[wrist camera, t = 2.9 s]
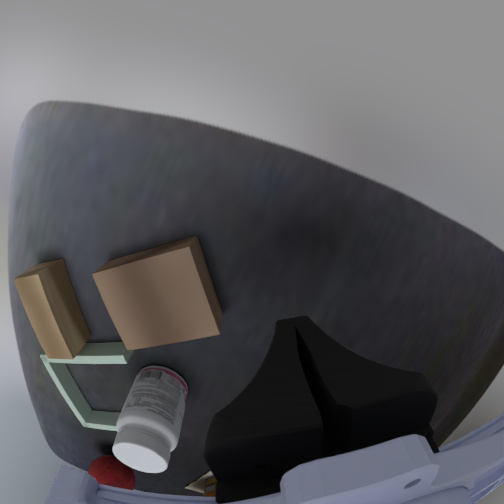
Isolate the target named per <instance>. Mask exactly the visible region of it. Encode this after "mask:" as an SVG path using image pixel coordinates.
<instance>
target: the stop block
mask: <svg viewBox="0 0 504 504" xmlns="http://www.w3.org/2000/svg"><path fill="white" fill-rule="evenodd" d="M14 281H15V284H16V287H17V289H18V292H19V295H20V297H21V300H22V303H23V305H24V308H25V310H26V313H27V315H28V317H29V320H30V322H31V324H32V327H33V329H34V331H35V333H36V335H37V337H38V340H39V342H40V344H41V346H42V348H43V350H44V352H45V354H46V356H47V358H48V359H74V358H75V357H76V355H77V354H78V353H79V351H80V350H81V349H82V348H83V346H84V345H85V344H86V342H87V341H88V340H89V339H90V337H91V334H90V332H89V329H88V327H87V324H86V322H85V320H84V317H83V315H82V312H81V309H80V307H79V304H78V301H77V299H76V296H75V293H74V290H73V288H72V285H71V282H70V279H69V276H68V273H67V269H66V266H65V263H64V260H63V259H58V260H54V261H49V262H44V263H40V264H37V265H36V266H34V267H32V268H31V269H29V270H27V271H26V272H24V273H23V274H21V275H19V276H18V277H16V278H15V279H14Z"/></svg>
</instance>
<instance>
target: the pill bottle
mask: <svg viewBox="0 0 504 504" xmlns="http://www.w3.org/2000/svg"><path fill="white" fill-rule="evenodd" d="M187 396H188V387H187V384H186V382H185V381H184V379H183V378H182V377H181V376H180V375H178V374H177V373H176V372H174V371H173V370H171V369H169V368H166V367H163V366H148V367H145V368H143V369H142V370H140V371H139V373H138V374H137V376H136V378H135V380H134V383H133V385H132V388H131V390H130V392H129V394H128V397H127V399H126V401H125V404H124V406H123V408H122V411H121V413H120V415H119V418H118V420H117V423H116V428H117V432H118V433H117V436H116V439H115V441H114V444H113V448H112V450H113V453H114V455H115V456H116V458H117V459H119V460H120V461H121V462H122V463H124V464H125V465H127V466H129V467H131V468H133V469H136V470H139V471H143V472H148V473H159V472H163V471H165V470H166V469H167V467H168V463H169V459H170V452H171V451H173V450H174V449H175V448H176V446H177V443H178V439H179V435H180V430H181V425H182V420H183V415H184V410H185V405H186V400H187Z"/></svg>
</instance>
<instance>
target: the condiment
mask: <svg viewBox="0 0 504 504" xmlns="http://www.w3.org/2000/svg"><path fill="white" fill-rule="evenodd" d="M216 482H217V480H216V479H215V477H214V476H213V474H212V472H211V471H210V472H208V473H207V474H205V475H203V476H202V477H201V478H199V479H198V480H197V481H195V482H193V483H191V484H190V485H189V486H187V487H185V488H187V489H192V490H195V491H198V492H202V493H204V494H203V497H215V496H216Z"/></svg>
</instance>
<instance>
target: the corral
mask: <svg viewBox="0 0 504 504" xmlns="http://www.w3.org/2000/svg"><path fill="white" fill-rule="evenodd" d="M133 351H134V350H127V348H126V346H125V344H124V342H107V343H86V344H85V345H84V346H83V348H82V349H81V350H80V351H79V353H78V354H77V355H76V357H75V358H74V359H48V358H47V356H46V354H45V352H44V350H43V351H42V352H41V353H40V357H41V359H42V361H43V363H44V365H45V366H46V368H47V370H48V372H49V374H50V375H51V377H52V379H53V381H54V382H55V384H56V386H57V387H58V389H59V391H60V392H61V394H62V395H63V397H64V399H65V400H66V402H67V403H68V405H69V406H70V408H71V409H72V411H73V412H74V414H75V415H76V417H77V418H78V419H79V421H80V422H81V424H82V425H83V426H84V427H89V428H96V429H104V430H113V431H117V428H116V423H117V420H118V418H119V415H120V413H119V412H106V411H95V410H92V409H91V407H90V406H89V404H88V403H87V401H86V400H85V398H84V396H83V395H82V393H81V391H80V390H79V388H78V386H77V384H76V383H75V381H74V379H73V377H72V376H71V374H70V372H69V370H68V368H67V366H66V365H65V363H77V364H127V362H128V361H129V359H130V357H131V355H132V353H133Z"/></svg>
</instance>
